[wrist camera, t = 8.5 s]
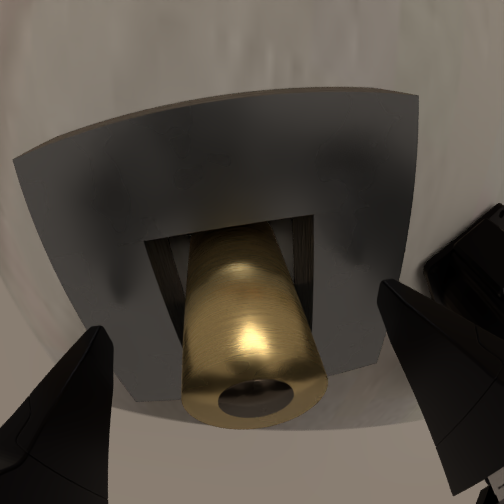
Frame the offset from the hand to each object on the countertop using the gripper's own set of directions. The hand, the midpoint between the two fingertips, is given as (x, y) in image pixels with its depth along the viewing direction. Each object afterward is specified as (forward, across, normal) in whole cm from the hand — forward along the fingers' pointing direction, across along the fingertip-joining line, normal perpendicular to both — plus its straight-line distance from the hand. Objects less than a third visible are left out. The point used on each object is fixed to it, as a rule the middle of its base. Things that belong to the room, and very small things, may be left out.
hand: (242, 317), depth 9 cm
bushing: (+4, 0, 0) cm, 4 cm away
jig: (+4, 0, 0) cm, 4 cm away
